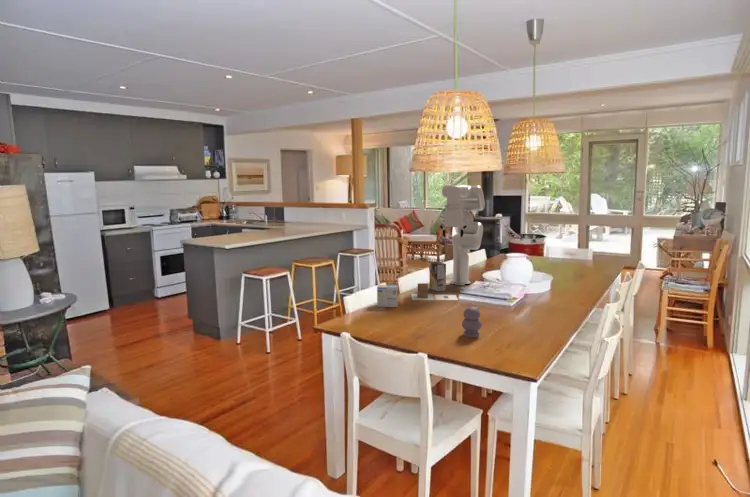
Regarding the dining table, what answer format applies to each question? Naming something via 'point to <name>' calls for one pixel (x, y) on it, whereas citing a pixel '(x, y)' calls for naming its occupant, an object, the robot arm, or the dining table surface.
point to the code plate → (446, 297)
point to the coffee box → (438, 276)
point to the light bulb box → (387, 295)
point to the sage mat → (415, 297)
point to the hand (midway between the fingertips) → (452, 236)
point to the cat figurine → (471, 322)
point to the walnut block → (422, 290)
